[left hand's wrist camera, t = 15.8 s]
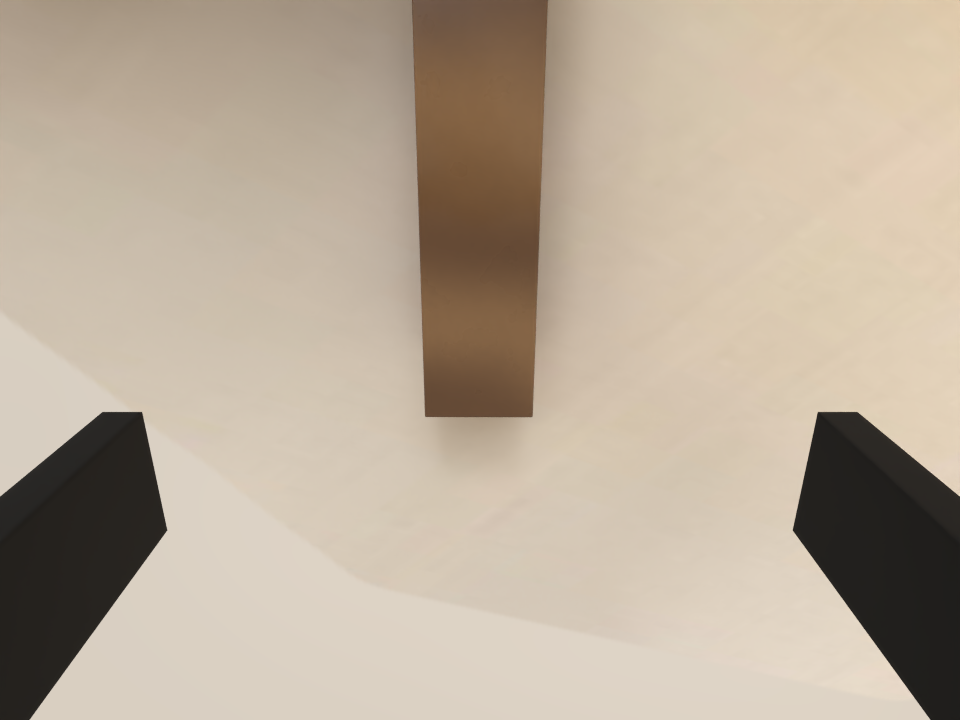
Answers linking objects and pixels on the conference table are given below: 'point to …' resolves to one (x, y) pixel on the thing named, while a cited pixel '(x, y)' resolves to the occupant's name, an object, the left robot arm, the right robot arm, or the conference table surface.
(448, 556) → the conference table surface
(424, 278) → the beam
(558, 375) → the conference table surface
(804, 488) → the left robot arm
